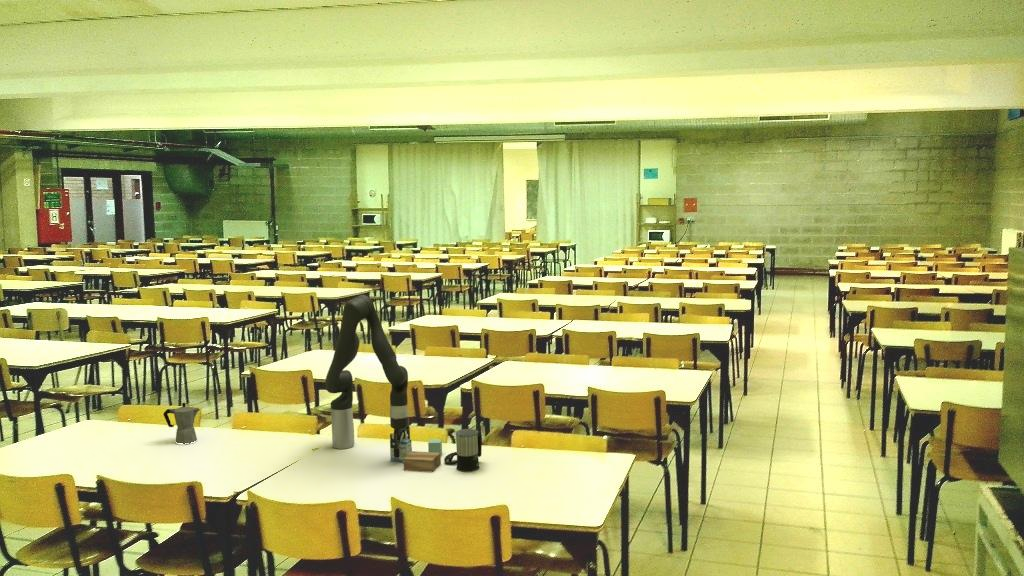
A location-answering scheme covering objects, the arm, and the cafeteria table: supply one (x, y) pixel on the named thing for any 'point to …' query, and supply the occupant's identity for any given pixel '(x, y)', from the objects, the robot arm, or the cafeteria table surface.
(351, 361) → the robot arm
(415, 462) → the walnut block
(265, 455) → the cafeteria table surface
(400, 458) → the medicine box
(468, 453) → the milk frother
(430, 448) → the teal block
